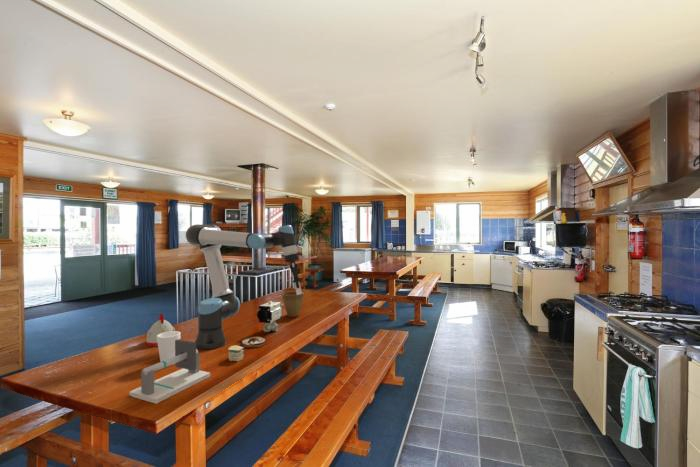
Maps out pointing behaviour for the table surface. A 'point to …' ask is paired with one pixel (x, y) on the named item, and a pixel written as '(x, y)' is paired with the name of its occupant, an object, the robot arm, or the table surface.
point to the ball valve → (270, 315)
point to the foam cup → (167, 344)
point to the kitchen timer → (158, 330)
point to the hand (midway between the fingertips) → (299, 293)
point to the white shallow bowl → (253, 342)
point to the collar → (190, 349)
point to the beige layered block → (235, 353)
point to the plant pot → (293, 303)
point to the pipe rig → (167, 380)
